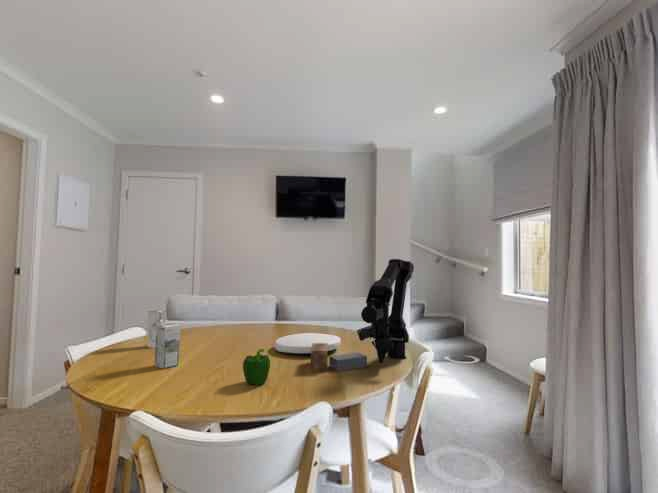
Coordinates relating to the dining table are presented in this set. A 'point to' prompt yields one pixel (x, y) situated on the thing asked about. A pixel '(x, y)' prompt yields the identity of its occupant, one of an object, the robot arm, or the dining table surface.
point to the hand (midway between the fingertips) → (380, 363)
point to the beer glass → (154, 325)
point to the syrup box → (167, 345)
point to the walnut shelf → (319, 356)
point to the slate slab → (348, 361)
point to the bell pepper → (256, 368)
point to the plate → (305, 342)
